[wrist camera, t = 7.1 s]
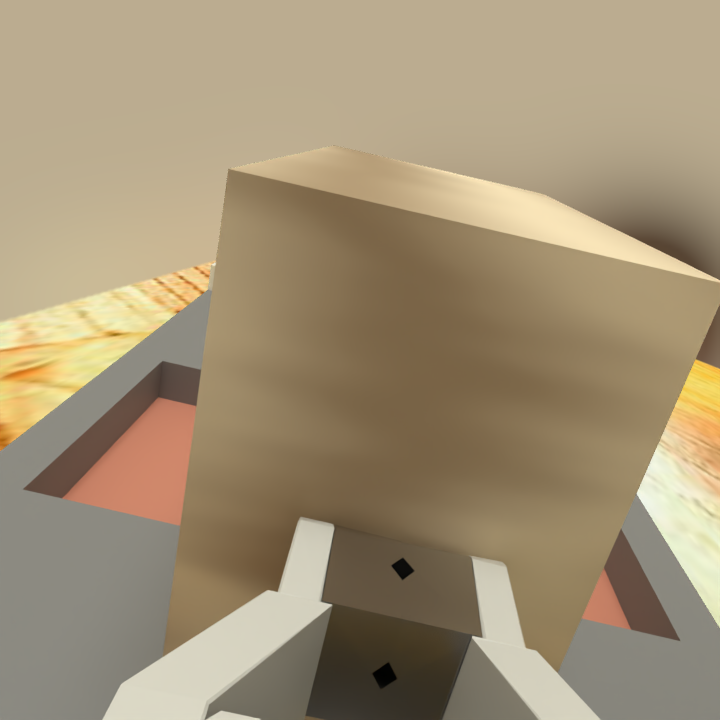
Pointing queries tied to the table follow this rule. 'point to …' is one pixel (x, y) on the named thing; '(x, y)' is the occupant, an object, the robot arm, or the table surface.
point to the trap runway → (160, 540)
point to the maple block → (426, 381)
